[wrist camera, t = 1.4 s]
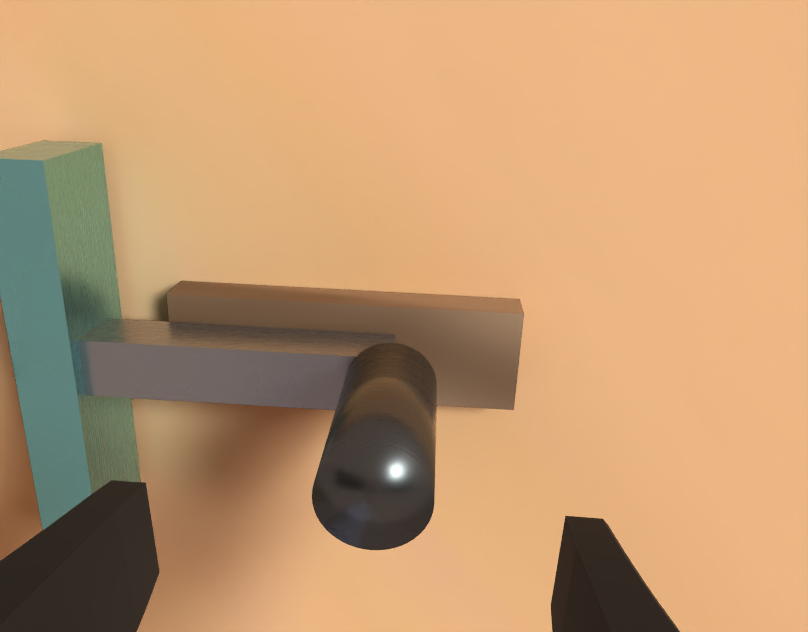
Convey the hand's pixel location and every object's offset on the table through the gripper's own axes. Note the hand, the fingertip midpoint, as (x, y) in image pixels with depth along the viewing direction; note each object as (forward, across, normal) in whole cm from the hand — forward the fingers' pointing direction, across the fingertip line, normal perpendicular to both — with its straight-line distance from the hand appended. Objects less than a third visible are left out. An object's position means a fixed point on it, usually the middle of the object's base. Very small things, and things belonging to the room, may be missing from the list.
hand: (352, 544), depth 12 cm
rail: (+10, +2, +1) cm, 10 cm away
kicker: (+10, +4, +1) cm, 11 cm away
